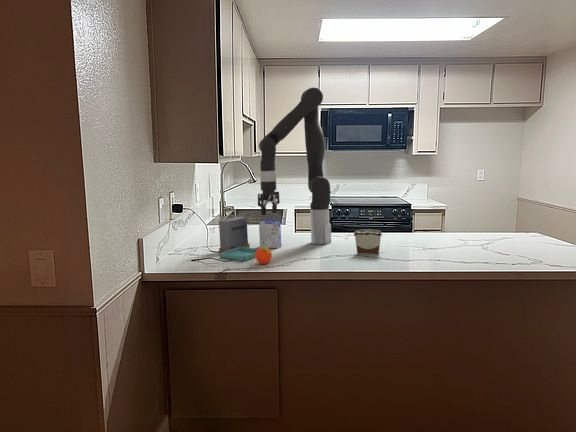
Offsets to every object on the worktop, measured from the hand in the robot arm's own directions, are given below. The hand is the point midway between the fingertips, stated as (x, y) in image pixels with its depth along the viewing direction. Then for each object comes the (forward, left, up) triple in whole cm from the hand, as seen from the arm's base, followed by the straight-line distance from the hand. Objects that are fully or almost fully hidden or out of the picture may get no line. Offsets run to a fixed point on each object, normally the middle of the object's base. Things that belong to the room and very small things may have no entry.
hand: (269, 214), depth 197 cm
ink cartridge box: (0, 0, -17) cm, 17 cm away
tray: (0, +21, -16) cm, 27 cm away
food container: (-47, -10, -17) cm, 51 cm away
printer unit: (+12, +13, -16) cm, 24 cm away
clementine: (-17, +27, -17) cm, 36 cm away
